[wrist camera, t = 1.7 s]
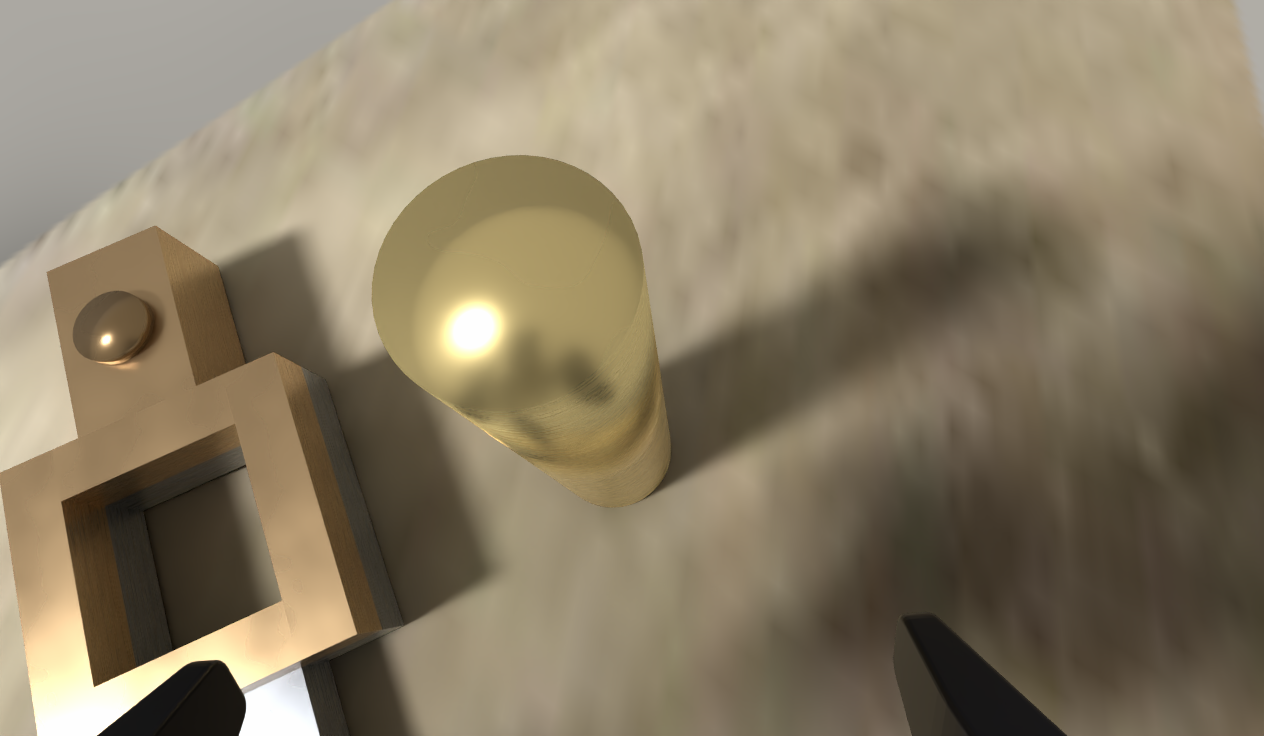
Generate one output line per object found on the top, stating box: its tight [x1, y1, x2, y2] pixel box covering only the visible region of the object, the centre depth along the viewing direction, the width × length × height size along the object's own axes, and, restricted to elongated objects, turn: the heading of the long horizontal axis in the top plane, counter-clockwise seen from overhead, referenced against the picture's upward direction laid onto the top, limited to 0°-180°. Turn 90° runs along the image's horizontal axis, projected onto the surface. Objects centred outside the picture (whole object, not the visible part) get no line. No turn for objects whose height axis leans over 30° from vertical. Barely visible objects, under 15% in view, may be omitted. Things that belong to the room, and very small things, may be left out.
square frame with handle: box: [0, 226, 404, 736], centre depth 19 cm, size 24×8×3 cm, turn 24°
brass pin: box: [372, 155, 671, 507], centre depth 15 cm, size 4×4×13 cm
